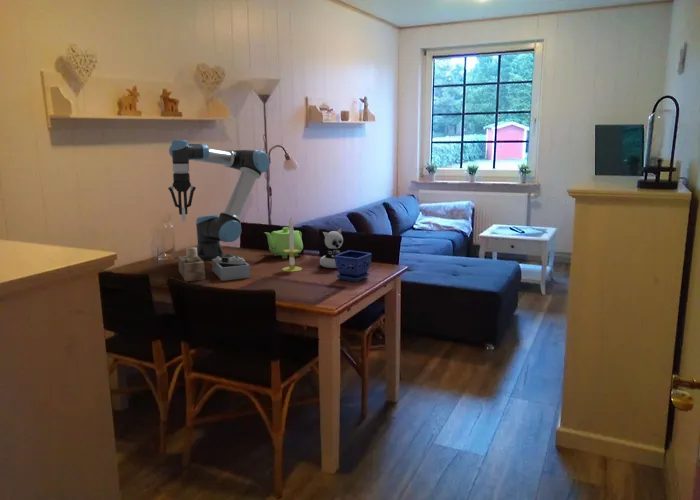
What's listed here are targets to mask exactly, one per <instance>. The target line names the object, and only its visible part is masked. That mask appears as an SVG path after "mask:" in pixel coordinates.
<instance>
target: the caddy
mask: <svg viewBox="0 0 700 500" xmlns="http://www.w3.org/2000/svg"><path fill="white" fill-rule="evenodd" d="M235 257H236V258H241V257H240V256H235ZM211 268H212V270H211V271H212V272H213V273H214V274H215V275H216V276H217V277H218V279H220V281H230V280H241V279H250V278H251V266H250V264H249V263H248V262H246V261H245V265H242V266H232V267H222V266H221V265H220V264H219V263H216V262H215V259H212V260H211Z"/></svg>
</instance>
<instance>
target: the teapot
mask: <svg viewBox="0 0 700 500" xmlns="http://www.w3.org/2000/svg"><path fill="white" fill-rule="evenodd" d="M293 231H294V249H300V252H296V253H294V257H299V256H300V255H299V254H301V253H302V251H303V249H304V244H303V240H302V236H303V234H302V232H301V230H300V231H299V230H298V229H297V230H294V229H293ZM263 233H264V234H265V235H266V237H267V243H268V250H269V251H270V253H271V254H273V257H280V256H281V259H285V260H286V259H288V258H289V257H288V256H289V253H286V252H284V251H283V250H284V249H290V242H289V226H287V227H285V226H284V227H282V229H281V230H273V231H271V232H267V231H266V232H263Z"/></svg>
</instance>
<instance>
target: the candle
mask: <svg viewBox="0 0 700 500" xmlns="http://www.w3.org/2000/svg"><path fill="white" fill-rule="evenodd" d="M288 228H289V242H290V249H284V250H283V251H284V252H286V253H289V255H288V256H289V257H288V258H289V266H285V267H283V268H282V269H281V270H282V271H283V272H289V273H295V272H300V271H302V270H303V268H302V266H301V267H300V266H296V265H295V263H296V262H295V259H296V258H295V256H294V253H296V252H300V249H294V231H293V230H294V220H293V218H292V217H290V220H289V221H288ZM300 253H301V252H300Z"/></svg>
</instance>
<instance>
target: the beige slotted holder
mask: <svg viewBox="0 0 700 500" xmlns="http://www.w3.org/2000/svg"><path fill="white" fill-rule="evenodd" d="M197 257H198V262H189V263H187V258H186V254H183V255H177V261H178V262H177V264H178V272H179V274H180V275H181V277H182V278H183V281H185V282H191V281H199V280H206V269H205V266H206V265H205V261H204V260H202V259H201V258H200V257H199V256H198V255H197Z"/></svg>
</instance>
